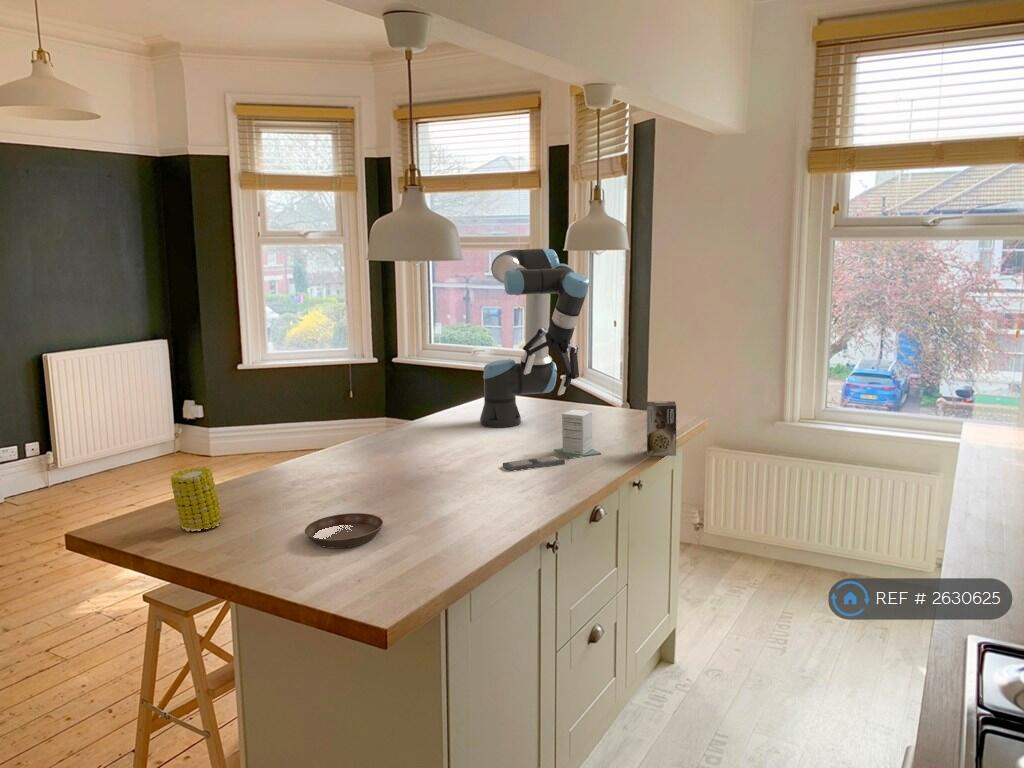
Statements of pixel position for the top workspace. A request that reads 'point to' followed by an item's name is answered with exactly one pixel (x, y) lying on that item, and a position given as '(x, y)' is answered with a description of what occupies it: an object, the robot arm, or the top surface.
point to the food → (196, 498)
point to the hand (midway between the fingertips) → (543, 383)
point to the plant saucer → (361, 530)
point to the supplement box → (577, 431)
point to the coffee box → (661, 428)
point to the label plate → (533, 463)
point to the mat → (570, 455)
